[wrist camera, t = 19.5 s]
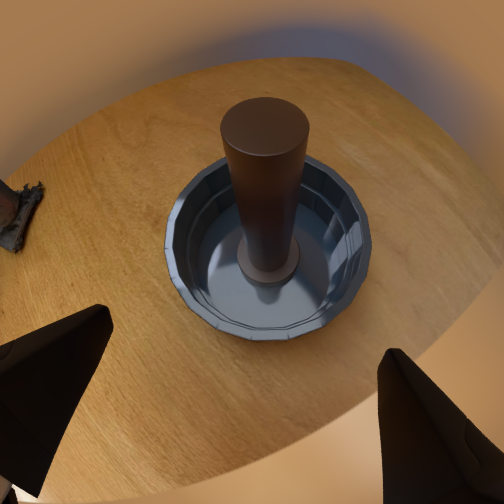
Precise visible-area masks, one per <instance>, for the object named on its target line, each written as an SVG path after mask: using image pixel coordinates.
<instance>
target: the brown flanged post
mask: <svg viewBox="0 0 504 504" xmlns="http://www.w3.org/2000/svg"><path fill="white" fill-rule="evenodd" d="M220 131H221V136H222V141H223V146H224V150H225V155H226V159H227V164H228V168H229V173H230V177H231V182H232V186H233V191H234V195H235V200H236V204H237V209H238V213H239V217H240V222H241V226H242V231H243V236H242V238H241V239H240V241H239V244H238V247H237V261H238V264H239V267H240V270H241V272H242V273H243V275H244V276H245V277H246V278H247V279H248V280H249V281H250V282H252V283H254V284H256V285H258V286H262V287H274V286H278V285H281V284H283V283H285V282H286V281H288V280H289V279H290V278H291V277H292V276H293V274H294V273H295V271H296V269H297V266H298V262H299V258H300V249H299V245H298V242H297V240H296V239H295V237H294V236H293V235H292V233H293V227H294V222H295V216H296V210H297V205H298V199H299V193H300V187H301V181H302V175H303V169H304V162H305V156H306V149H307V142H308V136H309V122H308V119H307V117H306V115H305V114H304V113H303V111H302V110H301V109H299V108H298V107H297V106H295V105H294V104H292V103H290V102H288V101H285V100H282V99H278V98H271V97H259V98H253V99H248V100H245V101H243V102H240V103H238V104H236V105H235V106H233V107H232V108H231V109H230V110H228V112H227V113H226V114H225V115H224V117H223V119H222V121H221V125H220Z"/></svg>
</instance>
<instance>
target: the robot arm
mask: <svg viewBox="0 0 504 504" xmlns="http://www.w3.org/2000/svg"><path fill="white" fill-rule="evenodd" d="M112 332H113V322H112V318H111V315H110V311H109V308H108V307H107V306H104V305H101V304H95V305H93V306H91V307H88V308H86V309H84V310H81V311H79V312H77V313H74V314H72V315H70V316H67V317H65V318H63V319H60V320H58V321H56V322H54V323H51V324H49V325H47V326H44V327H42V328H40V329H37V330H35V331H33V332H31V333H28V334H26V335H24V336H21V337H19V338H17V339H15V340H12V341H10V342H8V343H6V344H3V345H1V346H0V504H18V501H17V497H16V494H15V490H14V489H13V488H12V487H11V486H12V485H13V484H14V485H16V486H17V487H19V488H21V489H22V490H24V491H25V492H27V493H29V494H31V495H32V496H34V497H36V498H38V496H39V494H40V491H41V489H42V486H43V483H44V481H45V478H46V475H47V473H48V470H49V468H50V465H51V463H52V460H53V458H54V455H55V453H56V451H57V448H58V446H59V444H60V442H61V439H62V437H63V435H64V433H65V430H66V428H67V426H68V424H69V422H70V420H71V418H72V416H73V414H74V411H75V409H76V407H77V405H78V403H79V401H80V399H81V397H82V395H83V393H84V392H85V390H86V388H87V386H88V384H89V382H90V380H91V378H92V376H93V374H94V373H95V371H96V369H97V367H98V364H99V362H100V360H101V358H102V355H103V353H104V350H105V348H106V346H107V343H108V341H109V339H110V337H111V334H112ZM377 380H378V419H379V428H380V440H381V453H382V471H383V504H504V453H503V452H502V451H501V450H500V449H498V448H497V447H496V446H495V445H494V444H493V443H492V442H491V441H490V440H489V439H488V438H487V437H485V435H483V434H482V432H481V431H480V430H479V429H478V428H477V427H476V426H475V425H474V424H473V423H472V422H471V421H470V420H469V419H468V418H467V417H466V415H465V414H464V413H463V412H462V411H461V410H460V409H459V408H458V407H457V406H456V405H455V404H454V403H453V402H452V401H451V400H450V399H449V398H448V396H447V395H446V394H445V393H444V392H443V391H442V390H441V389H440V388H439V387H438V386H437V385H436V384H435V383H434V382H433V381H432V380H431V379H430V378H429V377H428V376H427V375H426V374H425V373H424V372H423V371H422V370H421V369H420V368H419V367H418V366H417V365H416V364H415V363H414V362H413V361H412V360H411V359H410V358H409V357H408V356H407V355H406V354H405V353H404V352H403V351H402V350H401V349H399V348H389V349H387V351H386V352H385V354H384V356H383V358H382V360H381V362H380V364H379V366H378V370H377Z"/></svg>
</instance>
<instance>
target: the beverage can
mask: <svg viewBox="0 0 504 504" xmlns="http://www.w3.org/2000/svg"><path fill="white" fill-rule="evenodd" d="M25 185H26V186H24V187H23V188H24V190H23V191H21V190H20V191H18V190H17V191H13V190H12V189H10V188H9V187H8V186H7V185H6V184H5V183H4V182H3V181H2V180H0V244H1V245H0V246H2V247H3V248H6V249H7V250H9V251H10V252H12V251H13V250H12V249H14V248H15V250H16V251H15V254H16V253H17V252H18V251H19V250H20V249H21V246H22V241H23V236H22V235H23V233H24V232H23V231H24V228H25V224H26V222H28V218H31V216H32V213H33V212H34V211H33V210H32V207H35V205H36V203H37V202H39V201H40V200H41V197H42V192H41V191H42V190H41V189H39V190H41V191H39V190H38V187H41V186H42V187H43V184H41V182H40V181H39V185H38V186H33V187H32V189H31V191H30V189H28V188H27V187H28V186H27V185H28V184H25ZM2 244H3V245H2ZM9 246H10V248H9ZM8 248H9V249H8Z"/></svg>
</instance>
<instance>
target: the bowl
mask: <svg viewBox="0 0 504 504" xmlns="http://www.w3.org/2000/svg"><path fill="white" fill-rule="evenodd" d="M292 235H293V236H294V237H295V239H296V240H297V242H298V245H299V249H300V258H299V262H298V266H297V269H296V271H295V273H294V274H293V276H292V277H291V278H290V279H289V280H288V281H286V282H285V283H283V284H281V285H278V286H274V287H262V286H258V285H256V284H254V283H252V282H250V281H249V280H248V279H247V278H246V277H245V276H244V275H243V273H242V272H241V270H240V267H239V264H238V261H237V247H238V244H239V241H240V239H241V238H242V236H243V231H242V226H241V222H240V217H239V213H238V209H237V204H236V200H235V195H234V191H233V186H232V182H231V177H230V173H229V168H228V164H227V159H226V157H224V158H221V159H220V160H218V161H216V162H215V163H213V164H212V165H210V166H208V167H207V168H205V169H203V170H202V171H200V173H198V174H197V175H196V176H195V177H194V178H193V179H192V180H191V182H190V183H189V184H188V185H187V186H186V187H185V188H184V189H183V190H182V192H181V193H180V194H179V196H178V198H177V200H176V202H175V204H174V206H173V208H172V211H171V213H170V215H169V217H168V220H167V227H166V235H165V244H164V253H165V257H166V262H167V266H168V271H169V275H170V279H171V281H172V283H173V285H174V286H175V288H176V289H177V291H178V293H179V294H180V296H181V297H182V299H183V300H184V302H185V303H186V305H187V307H189V309H190V310H192V311H193V312H194V313H195V314H197V315H198V316H199V317H201V318H202V319H203V320H204V321H206V322H207V323H208V324H210V325H211V326H212V327H214V328H215V329H217V330H219V331H222V332H225V333H227V334H230V335H233V336H236V337H239V338H242V339H246V340H249V341H252V342H256V343H266V342H286V341H288V340H291V339H294V338H297V337H299V336H302V335H305V334H308V333H310V332H313V331H315V330H318V329H320V328H322V327H324V326H326V325H327V324H328V323H329V322H330V321H332V320H333V319H334V318H335V317H336V316H337V315H339V314H340V313H341V312H342V311H343V310H344V309H346V308H347V307H348V306H349V305H350V304H351V303H352V301H353V299H354V297H355V296H356V294H357V292H358V290H359V289H360V287H361V285H362V283H363V282H364V280H365V278H366V276H367V272H368V266H369V260H370V254H371V248H372V245H371V244H372V241H371V235H370V229H369V224H368V218H367V215H366V212H365V210H364V208H363V206H362V204H361V203H360V201H359V199H358V197H357V195H356V193H355V192H354V190H353V188H352V187H351V186H350V185H349V184H348V183H347V182H346V181H345V180H344V179H343V178H342V177H341V176H340V175H339V174H338V173H337V172H336V171H335V170H334V169H332V168H330V167H329V166H327V165H325V164H323V163H321V162H319V161H318V160H316V159H314V158H312V157H310V156H308V155H306V156H305V162H304V169H303V175H302V181H301V187H300V193H299V199H298V205H297V210H296V216H295V222H294V227H293V233H292Z"/></svg>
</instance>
